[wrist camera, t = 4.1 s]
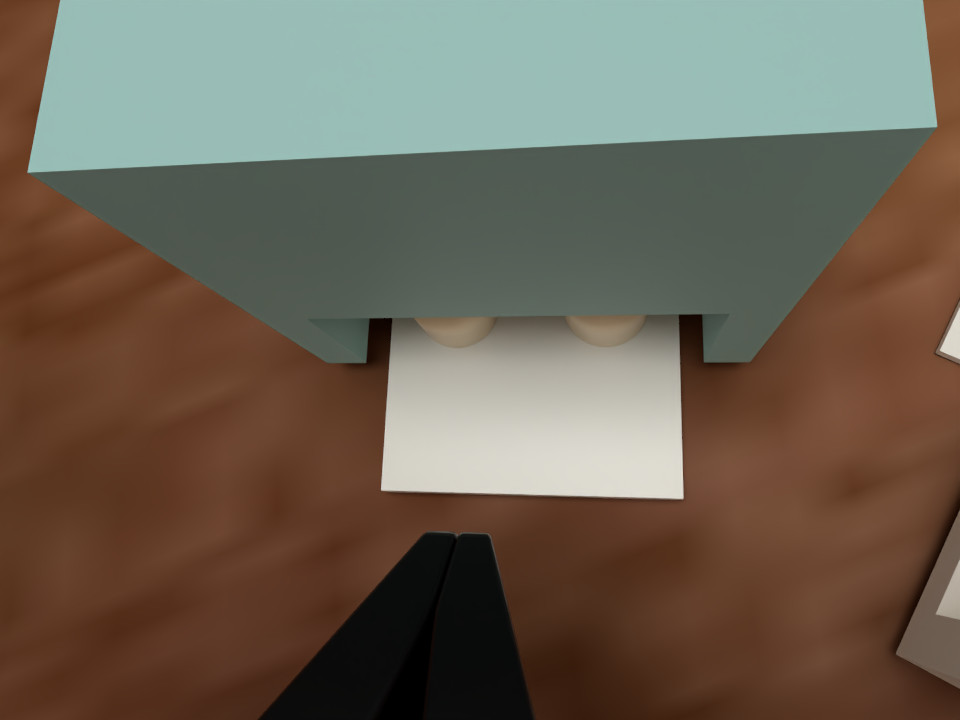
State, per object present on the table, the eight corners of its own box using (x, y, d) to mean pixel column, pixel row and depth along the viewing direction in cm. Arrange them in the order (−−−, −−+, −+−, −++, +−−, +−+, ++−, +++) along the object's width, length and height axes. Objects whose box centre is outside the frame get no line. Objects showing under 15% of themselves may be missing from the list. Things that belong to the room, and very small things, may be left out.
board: (681, 499, 17) (696, 491, 14) (388, 491, 18) (345, 482, 15) (669, 44, 20) (680, -43, 17) (415, 62, 21) (384, -16, 18)
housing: (749, 362, 17) (937, 126, 7) (327, 363, 19) (27, 171, 9) (733, 15, 19) (862, -523, 9) (354, 44, 21) (134, -388, 11)
